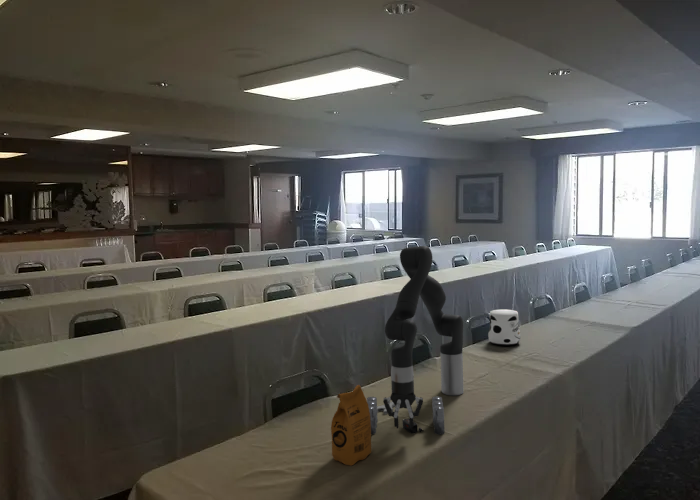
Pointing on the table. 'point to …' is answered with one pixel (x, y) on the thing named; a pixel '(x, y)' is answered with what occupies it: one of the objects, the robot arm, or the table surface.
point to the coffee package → (351, 428)
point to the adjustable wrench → (383, 408)
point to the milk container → (504, 327)
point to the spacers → (437, 414)
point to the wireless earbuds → (414, 428)
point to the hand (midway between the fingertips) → (403, 427)
